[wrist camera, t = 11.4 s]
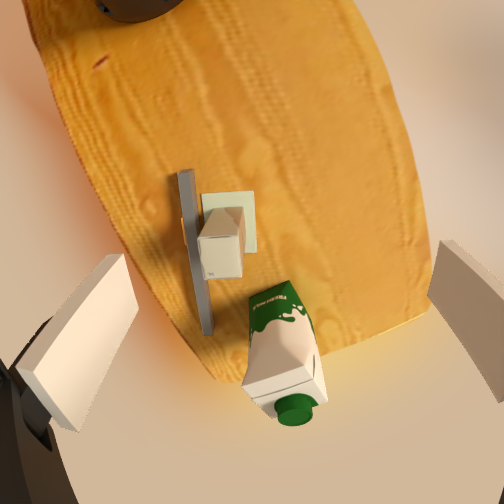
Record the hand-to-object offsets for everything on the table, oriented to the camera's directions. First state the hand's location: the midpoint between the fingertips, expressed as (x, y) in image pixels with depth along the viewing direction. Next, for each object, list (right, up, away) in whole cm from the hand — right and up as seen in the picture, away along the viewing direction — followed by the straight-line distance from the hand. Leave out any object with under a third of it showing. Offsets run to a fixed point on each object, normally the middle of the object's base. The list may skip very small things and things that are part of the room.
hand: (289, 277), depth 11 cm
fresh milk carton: (+3, -7, +35) cm, 36 cm away
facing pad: (-4, +5, +30) cm, 30 cm away
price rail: (-9, 0, +32) cm, 33 cm away
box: (-4, +5, +30) cm, 30 cm away
